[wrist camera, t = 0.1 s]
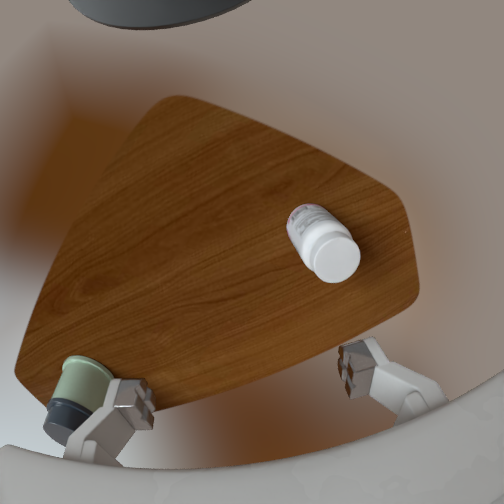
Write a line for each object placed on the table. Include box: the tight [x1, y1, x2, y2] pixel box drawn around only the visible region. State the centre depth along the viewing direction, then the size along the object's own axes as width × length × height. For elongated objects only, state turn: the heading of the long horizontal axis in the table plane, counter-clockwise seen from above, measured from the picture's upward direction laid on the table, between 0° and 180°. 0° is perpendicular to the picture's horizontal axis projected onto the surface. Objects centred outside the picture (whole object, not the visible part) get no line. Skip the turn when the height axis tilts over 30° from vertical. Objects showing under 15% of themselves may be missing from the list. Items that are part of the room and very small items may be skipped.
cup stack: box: [43, 356, 114, 447], centre depth 31 cm, size 9×9×12 cm
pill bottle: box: [287, 204, 360, 283], centre depth 26 cm, size 5×5×8 cm
